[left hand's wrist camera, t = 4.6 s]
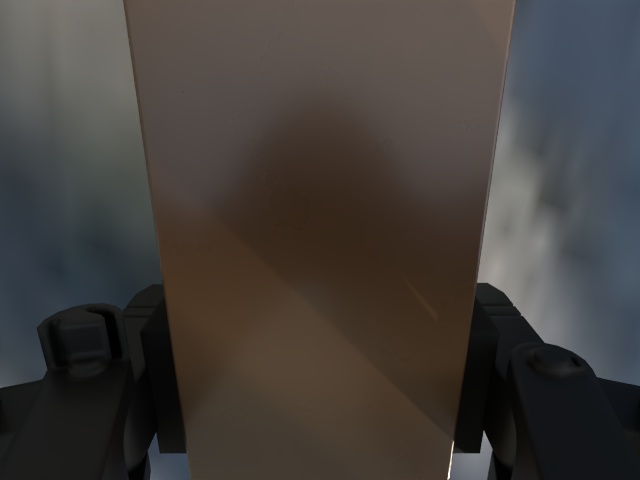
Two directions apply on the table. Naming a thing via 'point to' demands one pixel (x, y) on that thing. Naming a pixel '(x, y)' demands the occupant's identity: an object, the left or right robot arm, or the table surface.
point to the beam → (319, 223)
